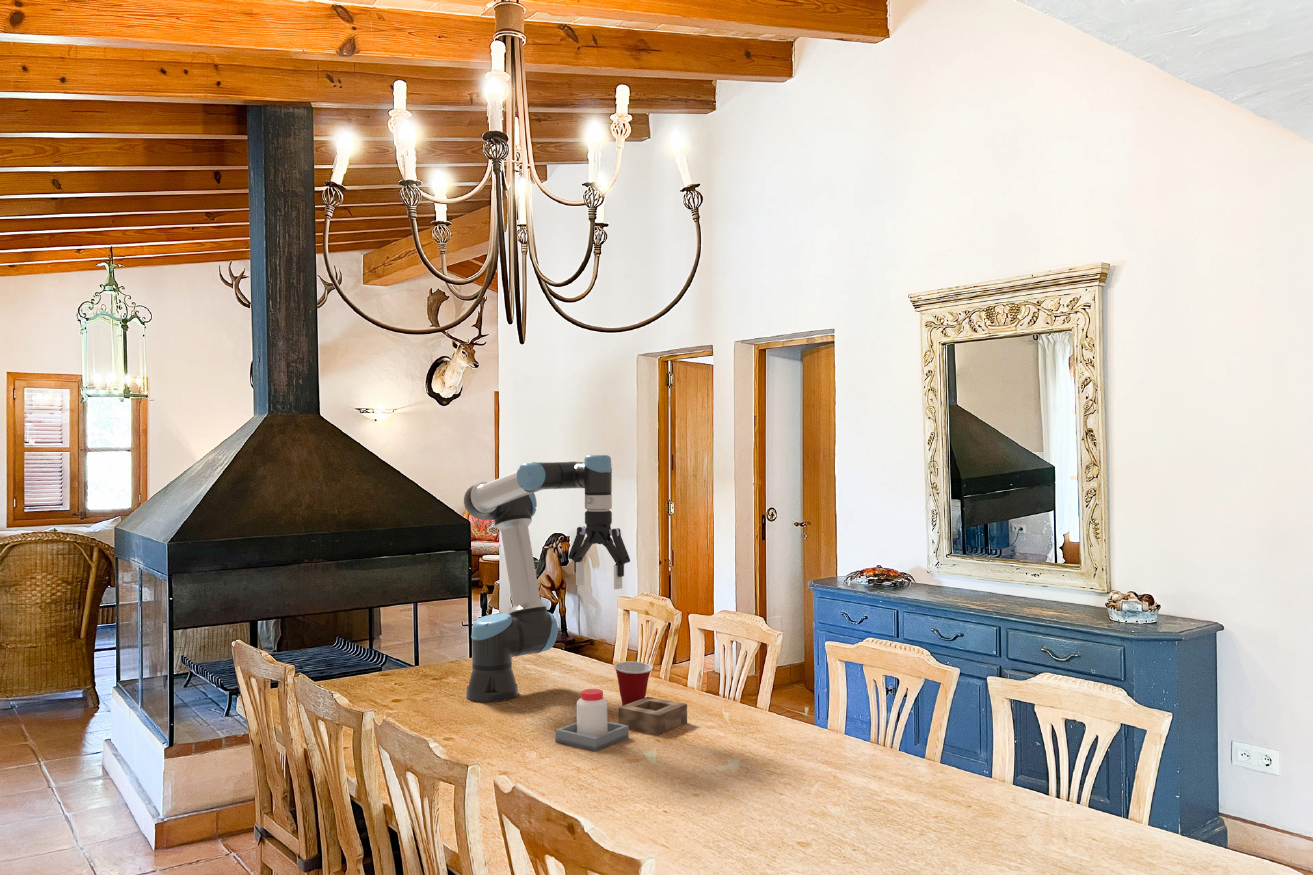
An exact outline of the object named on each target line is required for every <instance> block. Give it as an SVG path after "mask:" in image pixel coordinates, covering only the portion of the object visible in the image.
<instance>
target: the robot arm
mask: <svg viewBox="0 0 1313 875" xmlns="http://www.w3.org/2000/svg"><path fill="white" fill-rule="evenodd" d="M612 471H613V468H612V458H611V456H610V455H609V454H601V455H600V454H594V455H593V454H588V455H587V454H586V455H585V456H584V460H583V461H563V462H562V461H557V462H553V461H552V462H550V461H549V462H536V461H531V462H524V463H522V464H520V465H519V468H517V471H513V472H512V473H509V474H506V475H504V476H501V477H499V478H497V479H494V480H492V481H488V482H487V481H479V482H478V483H476V484H473V485H470V487H469V488H467V490H466V492H465V493H464V496H463V506H464V508H465V510H466V512H467V513H468V514H469V515H470V516H471V517H473V518H475V519H478V520H482V521H494V527H495V529H498V530H499V531H500V534H501V540H502V546H503V551H504V558H505V564H506V572H507V577H508V579H507V580H508V583H509V590H510V596H511V603H512V608H511V609H510V611H509V612H508V613H496V614H495V613H494V614H488V615H485V616H482V617H479V618H477V619H476V620H475V621H474V622H473V623H472V626H471V628H472V629H471V636H470V637H471V661H472V662H471V667H472V668H471V672H470V673H471V674H470V677H469V681H468V685H467V687H466V691H465V693H466V694H465V695H466V696H465V697H466V699H467V700H470V701H475V702H482V703H483V702H484V703H485V702H486V703H488V702H490V703H491V702H502V701H506V700H510V699H513V698H516V697H517V696H518V695H519V688H518V684H517V682H516V677H515V674H514V672H513V665H512V664H513V663H512V662H513V661H512V660H513V658H514V657H520V656H526V655H532V654H540V653H542V652H547V651H549V650H550V649H552V648H553V646H554V645H555V643H556V641H557V637H558V632H559V631H558V629H559V628H558V622H557V619H556V617H555V615H554V614H553V613H551V612H549V611H548V609H547V605H546V604H545V603H543V602H542V601H541V598H540V597H541V596H540V591H539V586H538V585H539V584H538V580H537V573H536V567H535V561H534V560H535V559H534V555H533V554H534V553H533V549H532V542H531V537H530V531H529V530H530V529H529V526H530V525H531V524H532V521H533V519H532V518H533V517H534V515H535V514H536V511H537V503H538V502H537V497H536V495H535V493H537V492H539V491H543V490H557V489H558V490H559V489H560V490H561V489H562V490H563V489H564V490H565V489H584V509H585V510H586V511H585V512H584V524H585V525H586V526H577V528H576V535H575V537H574V540H573V544H572V545H571V547H570V551H569V553H568V556H567V558H568V559H569V560H572V561H573V562H574V563H573V566H574V567H573V569H574V571H573V572H574V574H575V586H583V585H585V561H584V557H586V556H585V555H586V554H587V553H588V552H589V550H590V548H591V547H592V545H602V546H603V547H604V548H606V550H607V552H608V554H609V555H610V556H611V558H612V559H613V561H614V565H613V589H614V590H621V589H623V577H624V576H625V564H628V563H631V559H630V555H629V554H628V550H627V548H626V546H625V543H624V540H623V538H622V533H621V532H622V531H621V529H620V528H619V527H618V528H617V527H616V528H612V527H611V525H612V523H613V512H612V511H611V509H612V508H613V501H612V500H613V498H612V495H613V494H612V491H613V490H612V489H613V487H612V485H613V484H612V477H613V475H612V473H613V472H612ZM585 536H586V537H585Z"/></svg>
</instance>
